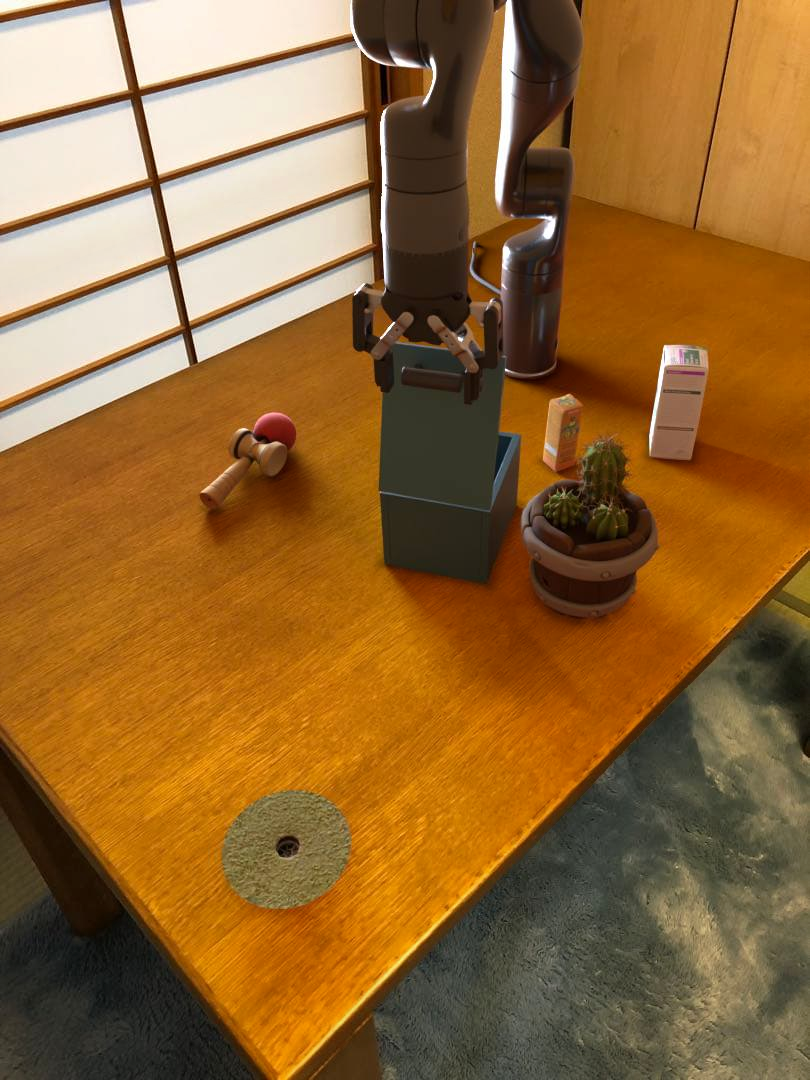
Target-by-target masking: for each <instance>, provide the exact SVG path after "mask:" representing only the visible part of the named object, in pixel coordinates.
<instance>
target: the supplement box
mask: <svg viewBox="0 0 810 1080" xmlns="http://www.w3.org/2000/svg"><path fill="white" fill-rule="evenodd" d="M583 410H584V405H583V404H582V403H581V401H579V400H578V399H577V398H576V397H574V395H572V394H571V393H568V394H566V395H564V396H561V397H557V398H552V399H550V400H549V406H548V415H547V422H546V429H545V430H546V431H545V439H544V447H543V456H542V461H543V462H544V463H545V465H547V466H548V467H549V468H550V469H552V470H553V471H555V473H557V472H560V471H563V470H565V469H568V468H571V467H574V466H575V462H576V459H575V458H576V456H577V450H578V442H579V435H580V430H581V423H582V416H583ZM574 457H575V458H574Z"/></svg>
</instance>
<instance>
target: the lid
mask: <svg viewBox="0 0 810 1080" xmlns="http://www.w3.org/2000/svg"><path fill="white" fill-rule="evenodd" d="M390 351H393V366H394V385H393V387H392V388H391V390H390V391H389V393H383V392H382V398H381V419H380V421H381V423H380V424H381V425H380V443H379V444H380V446H379V468H378V471H379V472H378V473H379V474H378V492H381V491H382V492H387V493H393V494H399V495H404V496H410V497H416V498H421V499H427V500H433V501H438V502H444V503H449V504H455V505H461V506H466V507H472V508H478V509H483V510H490V509H491V503H492V493H493V484H494V474H495V465H496V455H497V446H498V436H499V431H500V426H501V425H500V424H501V414H502V406H503V398H504V387H505V377H506V375H505V369H506V359H507V356H502V357H501V360H500V362H499V364H498V366H497V367H496V368H495V369H488V368H485V369H483V389H482V391H481V393H480V395H479V397H478V399H477V400H474V401H473V403H472V405H467V404H464V372H465V370H466V368H465V366H464V365H463V364H462V362H461V361H460V359H459V358H458V357H457V356H454V355H453V354H452V353H451V352H450V350H449V349H448V348H447V347H441V346H440V347H439V346H434V345H425V344H417V343H416V344H415V343H411V342H401V341H396V342H395V343H394V345H393V346H392V347H391V348H390Z"/></svg>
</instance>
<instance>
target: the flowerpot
mask: <svg viewBox="0 0 810 1080" xmlns="http://www.w3.org/2000/svg"><path fill="white" fill-rule="evenodd" d="M596 433H597V434H598V436H599V438H598V437H596V436H594V437H593V438H592V443H591V442H587V441H586V442H585V444H586V445H585V444H584V443H580V444H581V445H583V448H581V449H580V451H579V452H577V453H578V454H580V452H581V451H582V450H583V451H584V452H585V454H584V453H582V455H576V456H577V457H576V456H575V457H574V458H575V460H578V461H577V463H576V469H579V470H576V472H577V473H575V474H573V476H576V478H575V480H574V479H561V480H558V481H554V482H553V483H552V484H550V485H547V486H546V487H545V488H544V489H542V490H541V492H539V493H537V494H535V496H533V497H532V498H531V499H530V500H529V501H528V503H527V504H526V506H525V507H524V509H522V510H521V512H520V513H521V518H520V538H521V542H522V545H523V546H524V548H525V550H526V552H527V553H528V555H529V556H530V557H531V559H530V561H529V576H530V577H529V578H530V582H531V585H532V588H533V590H534V593H535V594H536V596H537V597H538V598H539V600H540V601H542V602H543V604H544V605H545V606H546V607H548V608H549V609H550V610H551V611H553V612H555V613H556V614H558V615H560V616H563V617H565V616H568V617H569V618H571V619H574V620H584V619H587V618H600V619H601V618H604V617H607V616H608V615H609V614H611V613H614V612H616V611H617V610H619V609H621V608H622V607H623V606H624V605H625V604H626V603H627V602H628V601H629V600H630V598H631V596H632V595H634V594H636V586H637V584H638V583H637V582H638V575H637V572H638V570H640V569H641V568H643V567H644V566H645V565H646V564H648V562H650V561H651V559H652V558H653V556H654V555H655V553H656V552H657V551H658V550H659V549H660V544H658V542H659V529H658V524H657V521H656V517H655V515H654V514H653V512H652V511H651V509H650V508H649V507H648V505H647V503H646V501H645V500H644V499H643V498H642V497H641V496H639V495H638V494H636V493H632V492H631V491H630V490H629V489H630V488H631V487H630V486H629V485H627V484H628V479H629V480H631V477H635V475H634V474H631V473H630V472H631V470H632V469H631V468H632V467H631V465H633V463H632V461H635V458H633V459H632V458H630V457H631V453H630V454H629V457H627V455H628V453H629V451H630V449H629V448H626V447H625V446H628V443H626V444H623V442H622V441H620V439H621V438H620V437H618V438H617V440H616V437H615V436H618V433H616V434H614V435H612V432H611V430H609V429H607V431H606V435H605V436H604V435H602V434H601V433H600V432H598V431H596ZM611 435H612V436H611ZM595 440H596V441H595ZM619 441H620V442H619ZM618 442H619V443H618ZM622 450H623V451H622ZM625 450H628V451H627V452H626V454H625ZM630 464H631V465H630ZM579 465H580V466H581V468H579ZM626 465H627V466H629V467H630V469H629V470H627V468H626ZM577 466H578V467H577ZM627 478H628V479H627ZM578 480H580V481H578ZM624 480H625V481H626V482H625V481H624ZM623 481H624V482H625V483H623Z"/></svg>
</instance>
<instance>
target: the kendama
mask: <svg viewBox="0 0 810 1080" xmlns="http://www.w3.org/2000/svg"><path fill="white" fill-rule="evenodd" d="M296 440H297V428H296V425H295V423H294V422H293V420H292V419H290V417H288V416H287V415H285V414H283V413H280V412H268V413H265V414H264V415H262V416H260V417H259V418H258V420H257V421H256V422H255V424H254V427H253V431H252V430H250V429H248V428H244V427H242V428H239V429H237V430H236V431H235V432H234V433H233V435H232V436H231V438H230V440H229V443H228V446H227V447H228V449H227V450H228V451H227V452H228V454H229V456H230V457H232V458H233V459H235V460H237V461H236V462H234V463H233V464H232V465H230V466H229V467H228V468H227V469H226V470H224V472H222V474H220V475H219V476H218V477H217V478H216V479H214V480H213V482H211V483H210V484H209V485H208V486H207V487H206V488H204V489H203V490H202V491H201V492H200V493H199V499H200V501H201V502H202V504H203V505H204V506H205V507H207V508H208V509H211V510H213V511H217V510H218V509H219V508H220V506H221V505H222V504H223V502H224V501H225V500H226V499H227V498H228V496H229V495H230V494H231V492H232V491H233V490H235V489H234V488H236V486H237V485H238V484H239V483H240V481H241V480H242V479H243V478H244V476H245V475H246V473H247V472H248V471H249V469H250V468H251V466H252V465H253V463H254V462H256V463H257V464H258V467H259V469H260V472H261V473H262V474H263V475H266V476H268V477H274V476H276V475H278V473H279V472H281V470H282V469H283V467H284V465H285V463H286V460H287V457H288V452H289V451H290V450H291V449H292V448H293V447H294V446H295V444H296Z"/></svg>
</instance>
